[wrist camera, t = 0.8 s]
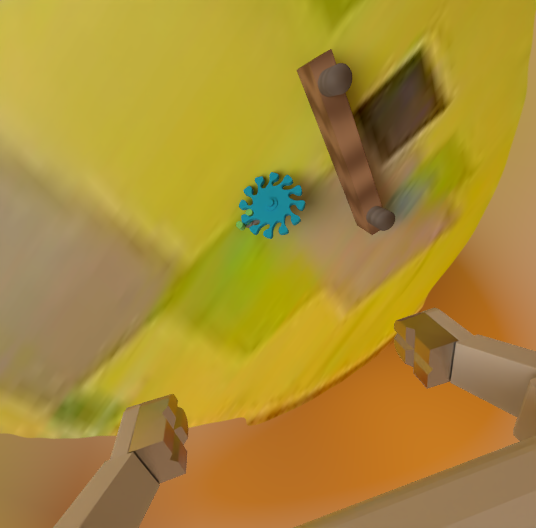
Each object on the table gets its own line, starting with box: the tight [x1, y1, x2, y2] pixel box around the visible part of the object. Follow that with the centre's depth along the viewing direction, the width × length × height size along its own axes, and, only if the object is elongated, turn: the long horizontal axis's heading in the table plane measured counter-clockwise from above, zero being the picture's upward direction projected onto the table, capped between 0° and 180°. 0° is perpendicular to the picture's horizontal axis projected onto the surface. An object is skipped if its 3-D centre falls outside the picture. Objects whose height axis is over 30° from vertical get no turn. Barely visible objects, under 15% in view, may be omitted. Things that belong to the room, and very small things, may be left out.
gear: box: [236, 172, 305, 239], centre depth 43 cm, size 11×6×10 cm
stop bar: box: [297, 49, 395, 235], centre depth 40 cm, size 26×3×8 cm, turn 29°
